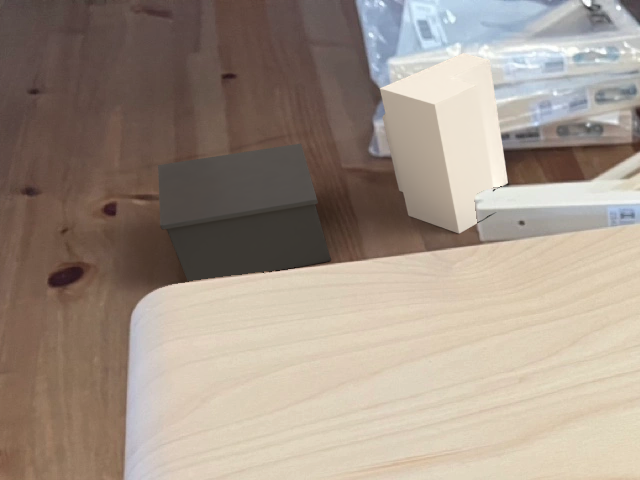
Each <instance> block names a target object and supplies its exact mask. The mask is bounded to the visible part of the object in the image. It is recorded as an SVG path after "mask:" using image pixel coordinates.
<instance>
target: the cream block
mask: <svg viewBox="0 0 640 480" xmlns="http://www.w3.org/2000/svg"><path fill="white" fill-rule="evenodd" d="M379 92H380V96H381V101H382V105H383V109H384V114H383V116H382V122H383V126H384V131H385V135H386V140H387V144H388V148H389V149H388V150H389V152H390V158H391V161H392V166H393V170H394V175H395V179H396V183H397V187H398V191H399V192H402V194H403V199H404V202H405V203H404V204H405V207H406V211H407V215H408V217H411V218H413V219H416V220H420V221H423V222H425V223H428V224H430V225H434V226H437V227H439V228H441V229H445V230H448V231H450V232H453V233H457V234H461V233H463V232H465V231H466V230H468V229H470V228H472V227H473V226H475V225H477V224H478V223H477V219H476V211H475V202H474V198H475V195H476V194H477V193H479V192H481V191H483V190H486V189H491V188H493V187H500V186H502V187H504V186H506V185H507V184H509V182H508V174H507V167H506V160H505V154H504V148H503V147H504V146H503V140H502V133H501V125H500V119H499V114H498V107H497V100H496V93H495V86H494V80H493V73H492V65H491V60H490V59H487V58H483V57H480V56H476V55H472V54H468V53H466V52H465V53H464V52H462V53H461V54H458V55H456V56H453V57H450V58H449V59H446V60H444V61H441V62H439V63H437V64H434V65H432V66H429V67H427V68H425V69H423V70H420V71H418V72H415V73H413V74H410V75H408V76H405V77H404V78H401V79H398V80H397V81H394V82H392V83H389V84H386V85H384V86H382V87H380V88H379ZM500 188H501V187H500Z"/></svg>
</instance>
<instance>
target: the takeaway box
mask: <svg viewBox="0 0 640 480" xmlns="http://www.w3.org/2000/svg"><path fill="white" fill-rule="evenodd" d="M303 148H304V147H303V144H302V143H295V144H288V145H282V146H276V147H275V146H274V147H269V148H262V149H254V150H249V151H242V152H235V153H227V154H223V155H216V156H209V157H203V158H202V157H201V158H195V159H190V160H183V161H176V162H175V161H174V162H169V163H161V164H158V165H157V175H158V200H159V203H158V204H159V226H160V228H161V230H166V231H167V234H168V236H169V239H170V242H171V244H172V247H173V249H174V251H175V254H176V256H177V259H178V261H179V262H180V265H181V268H182V270H183V271H182V272H183V273H184V276H185V278H186V281H187V282H188V281H193V280H201V279H208V278H215V277H223V276H231V275H242V274H248V273H255V272H264V271H274V270H280V271H282V270H281V269H285V270H288V269H287V268H291V269H295V268H294V267H296V268H302V267H307V266H311V265H312V266H313V265H318V264H324V263H328V262H332V258H331V254H330V251H329V247H328V244H327V241H326V237H325V234H324V230H323V226H322V222H321V220H320V219H321V218H320V215H319V211H318V208H317V204H318V203H319V202H318V198H317V195H316V191H315V187H314V184H313V181H312V176H311V173H310V169H309V166H308V162H307V159H306V156H305V152H304V149H303Z"/></svg>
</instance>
